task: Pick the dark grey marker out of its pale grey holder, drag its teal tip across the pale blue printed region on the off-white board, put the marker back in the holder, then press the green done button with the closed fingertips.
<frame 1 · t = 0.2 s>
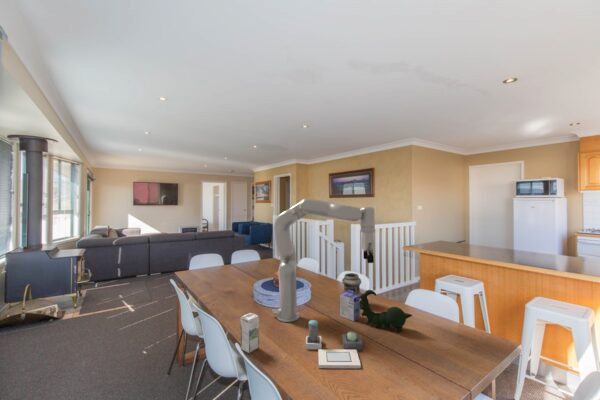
hand: (368, 260, 148), 31 cm above the table, fingers open, 9 cm apart
marker holder: (313, 345, 121), on the table
ink cartridge box: (350, 317, 149), on the table
marker: (313, 333, 121), in the marker holder
button housing: (352, 345, 120), on the table
picture board: (338, 359, 109), on the table
syrup box: (250, 349, 119), on the table
done button: (351, 337, 120), point 3 cm above the table, slide at 0.0 cm
toy figurine: (385, 328, 136), on the table
apothecary jar: (352, 304, 169), on the table
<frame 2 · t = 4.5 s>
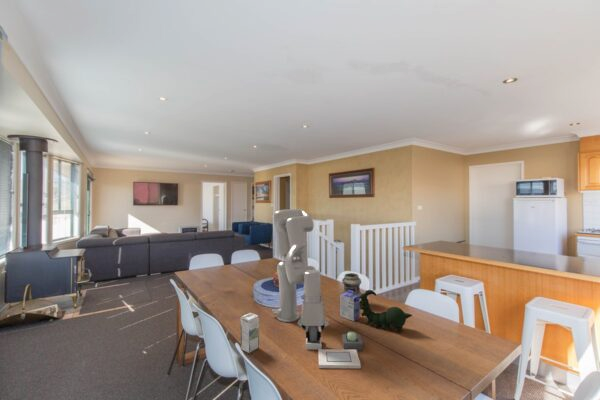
hand: (313, 339, 121), 3 cm above the table, fingers closed on marker, 4 cm apart
marker: (313, 333, 121), in the marker holder, touching gripper
everything else where it was.
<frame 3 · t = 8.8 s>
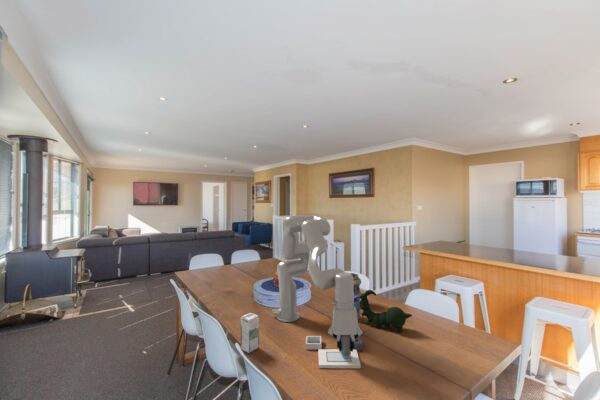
hand: (345, 349, 109), 4 cm above the table, fingers closed on marker, 4 cm apart
marker: (345, 343, 109), point 7 cm above the table, touching gripper
everything else where it was.
when the fingers open (4 cm above the table, at t = 12.8 s): marker stays where it is, resting in marker holder.
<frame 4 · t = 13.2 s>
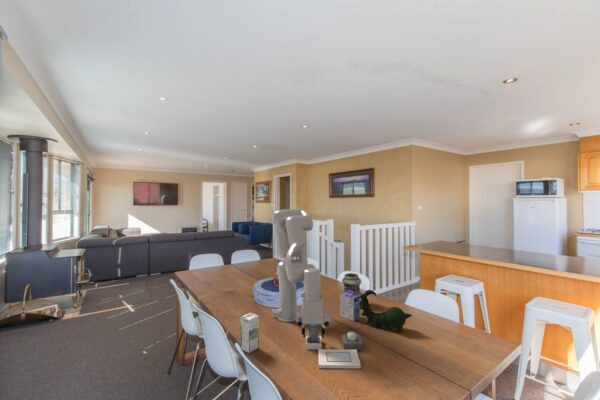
hand: (313, 335, 121), 4 cm above the table, fingers open, 7 cm apart
marker: (313, 333, 121), in the marker holder
everything else where it was.
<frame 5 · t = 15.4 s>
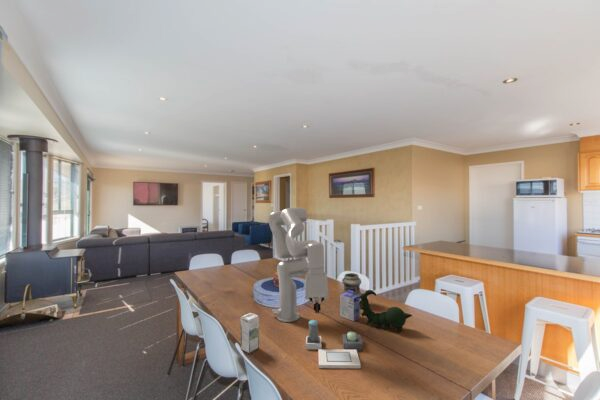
hand: (317, 311, 121), 15 cm above the table, fingers closed
nothing on the table moved.
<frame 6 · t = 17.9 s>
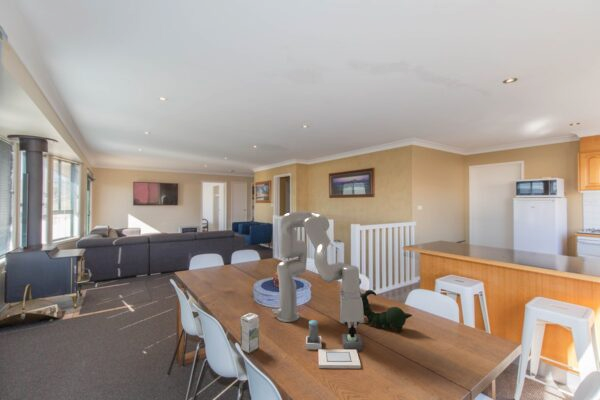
hand: (352, 335, 120), 4 cm above the table, fingers closed
done button: (351, 339, 120), point 3 cm above the table, slide at 0.8 cm, touching gripper
everything else where it was.
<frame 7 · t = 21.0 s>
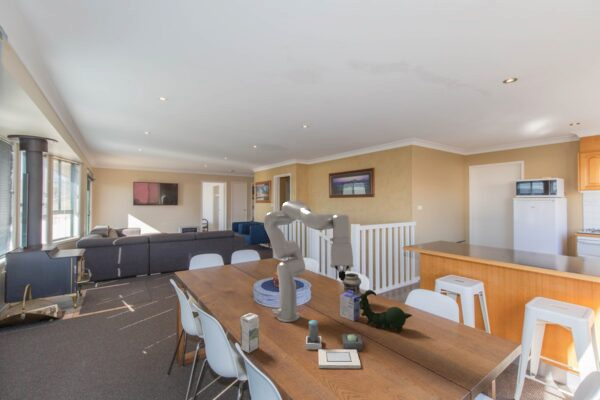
hand: (342, 279, 127), 27 cm above the table, fingers closed
done button: (351, 340, 120), point 2 cm above the table, slide at 1.2 cm
everything else where it was.
at the end: done button slide at 1.2 cm; marker 0.0 cm off-centre on the marker holder, point 5.2 cm above the marker holder's base; the gripper is holding nothing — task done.
